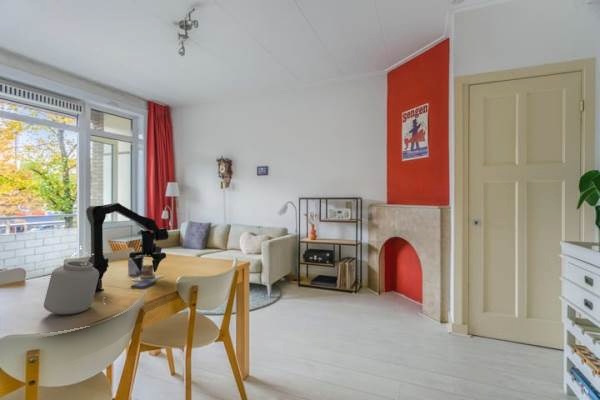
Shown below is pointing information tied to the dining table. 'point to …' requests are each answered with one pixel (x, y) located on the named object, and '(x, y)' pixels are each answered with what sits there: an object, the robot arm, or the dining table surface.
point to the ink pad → (143, 284)
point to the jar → (71, 288)
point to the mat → (147, 279)
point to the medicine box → (133, 268)
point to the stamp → (147, 272)
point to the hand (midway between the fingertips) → (147, 271)
